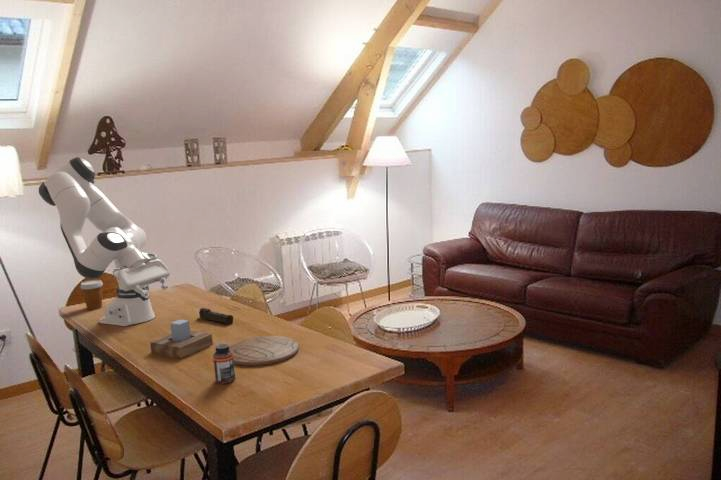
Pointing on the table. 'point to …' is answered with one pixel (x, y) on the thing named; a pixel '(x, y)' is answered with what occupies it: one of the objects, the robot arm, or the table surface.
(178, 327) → the square post
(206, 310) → the hand tool
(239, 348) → the trivet
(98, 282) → the disposable coffee cup
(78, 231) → the robot arm
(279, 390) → the table surface
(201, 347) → the walnut holder
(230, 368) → the supplement bottle
